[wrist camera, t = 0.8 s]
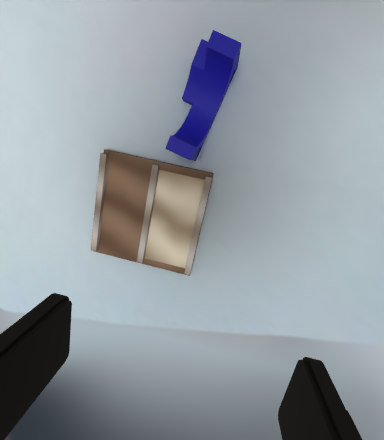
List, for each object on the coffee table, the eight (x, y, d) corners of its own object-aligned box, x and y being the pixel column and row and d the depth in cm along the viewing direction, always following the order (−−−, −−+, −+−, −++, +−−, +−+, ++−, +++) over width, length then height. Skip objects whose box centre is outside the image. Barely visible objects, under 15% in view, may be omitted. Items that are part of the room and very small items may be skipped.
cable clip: (203, 51, 28) (199, 23, 23) (237, 67, 28) (241, 43, 23) (165, 146, 32) (153, 142, 26) (195, 160, 32) (190, 160, 26)
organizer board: (107, 150, 33) (101, 149, 31) (213, 173, 31) (212, 174, 30) (96, 248, 36) (90, 253, 35) (190, 272, 35) (188, 278, 34)
